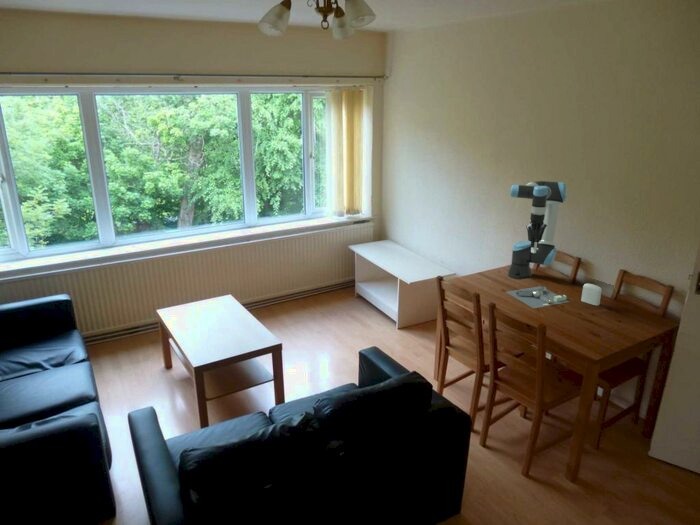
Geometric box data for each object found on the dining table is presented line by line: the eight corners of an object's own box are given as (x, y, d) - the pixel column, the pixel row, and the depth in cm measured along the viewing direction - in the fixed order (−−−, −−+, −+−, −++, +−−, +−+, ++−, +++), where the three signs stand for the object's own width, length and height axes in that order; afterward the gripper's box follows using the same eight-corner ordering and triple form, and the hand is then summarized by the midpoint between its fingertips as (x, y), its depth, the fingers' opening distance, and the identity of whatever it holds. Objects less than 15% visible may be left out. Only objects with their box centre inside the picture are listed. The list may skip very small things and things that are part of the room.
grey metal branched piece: (513, 288, 312) (514, 283, 311) (545, 290, 308) (546, 285, 307) (518, 302, 292) (518, 297, 291) (552, 304, 288) (552, 299, 287)
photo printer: (579, 302, 294) (582, 283, 290) (583, 300, 296) (586, 281, 292) (596, 308, 286) (600, 288, 282) (600, 306, 289) (603, 286, 285)
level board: (539, 287, 316) (540, 281, 314) (569, 303, 293) (570, 296, 291) (505, 293, 308) (506, 286, 306) (533, 310, 284) (534, 302, 283)
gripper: (542, 210, 291) (538, 249, 299) (524, 213, 287) (520, 251, 295) (551, 213, 284) (546, 252, 292) (532, 215, 280) (528, 255, 288)
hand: (533, 252), depth 293 cm, fingers closed
